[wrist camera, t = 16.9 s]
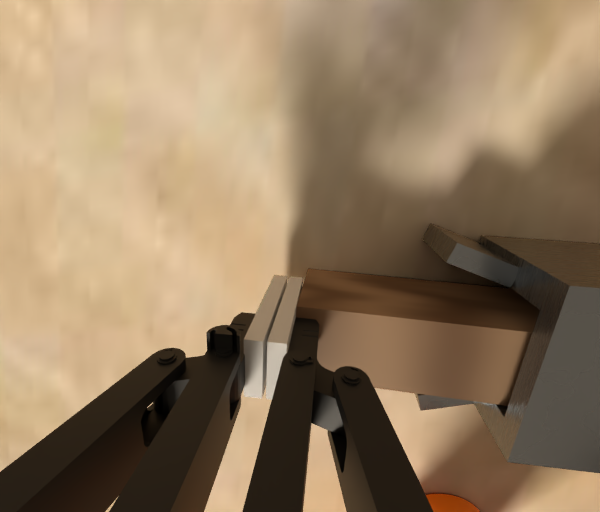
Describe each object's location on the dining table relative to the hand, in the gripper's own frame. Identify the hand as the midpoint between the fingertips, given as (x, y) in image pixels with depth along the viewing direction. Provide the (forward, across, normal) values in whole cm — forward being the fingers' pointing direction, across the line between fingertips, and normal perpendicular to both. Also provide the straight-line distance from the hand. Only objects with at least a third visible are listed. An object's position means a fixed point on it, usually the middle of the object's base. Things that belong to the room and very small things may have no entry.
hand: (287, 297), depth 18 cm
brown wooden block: (+1, +8, -1) cm, 8 cm away
